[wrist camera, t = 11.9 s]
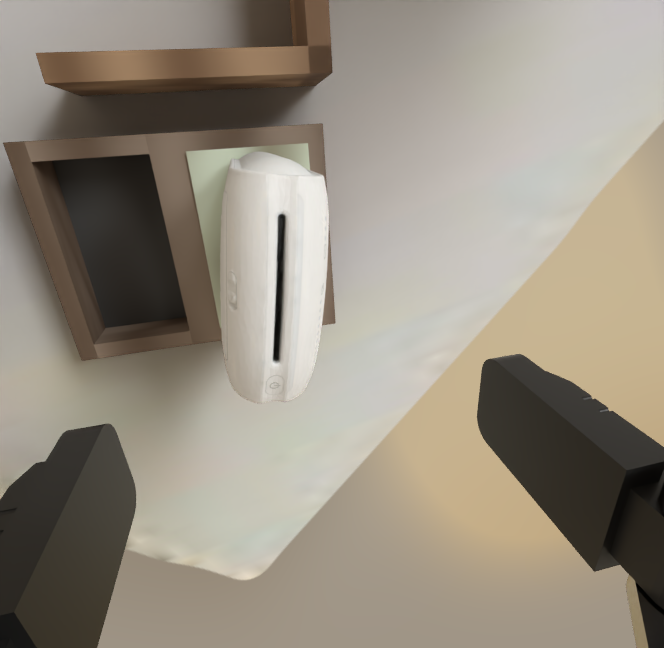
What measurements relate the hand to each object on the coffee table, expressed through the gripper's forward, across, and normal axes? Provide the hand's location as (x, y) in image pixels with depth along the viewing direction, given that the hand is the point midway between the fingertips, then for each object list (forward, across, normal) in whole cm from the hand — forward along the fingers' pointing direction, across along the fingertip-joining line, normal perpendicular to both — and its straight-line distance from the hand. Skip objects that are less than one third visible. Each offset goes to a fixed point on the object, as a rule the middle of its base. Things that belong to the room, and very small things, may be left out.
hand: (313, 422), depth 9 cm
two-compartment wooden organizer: (+22, +4, 0) cm, 22 cm away
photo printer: (+19, 0, 0) cm, 19 cm away
